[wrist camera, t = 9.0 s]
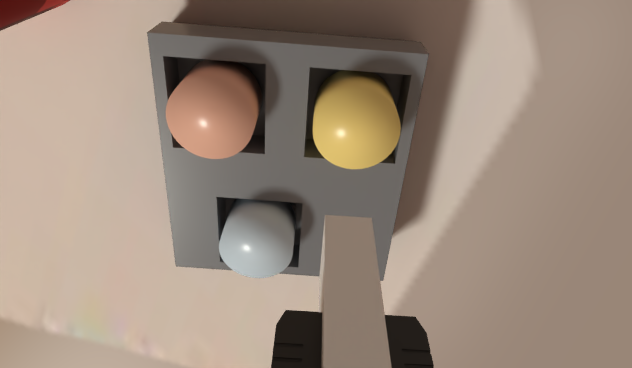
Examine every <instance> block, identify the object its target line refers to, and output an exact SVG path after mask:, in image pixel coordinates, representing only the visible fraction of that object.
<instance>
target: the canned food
mask: <svg viewBox="0 0 632 368" xmlns="http://www.w3.org/2000/svg"><path fill="white" fill-rule="evenodd" d="M68 1H70V0H0V31H1V30H3V29H5V28H8V27H10V26H13V25H15V24H18V23H20V22H22V21H25V20H27V19H30V18H32V17H34V16H37V15H39V14H42V13H44V12H46V11H49V10H51V9H54V8H56V7H58V6H61V5H63V4H65V3H66V2H68Z"/></svg>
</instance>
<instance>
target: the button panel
mask: <svg viewBox="0 0 632 368" xmlns="http://www.w3.org/2000/svg"><path fill="white" fill-rule="evenodd" d="M147 34H148V43H149V51H150V59H151V67H152V75H153V83H154V92H155V100H156V108H157V116H158V124H159V132H160V141H161V149H162V157H163V165H164V173H165V181H166V190H167V198H168V206H169V214H170V222H171V231H172V239H173V247H174V255H175V263H176V266H179V267H193V268H208V269H222V270H232V269H231V268H229V267H228V266H227V265H226V264H225V262H224V261H223V259H222V257H221V255H220V252H219V242H220V238H221V235H222V232H223V229H224V226H225V223H226V220H227V216H228V213H229V210H230V208H231V205H232V204H233V202H234V201H235V200H236V199H237V198H240V199H253V200H267V201H281V202H289V203H290V204H291V206H292V207H293V209H294V211H295V215H296V227H295V237H294V246H293V255H292V259H291V262H290V264H289V265H288V266H287V267H286V268H285V269H284V270H283V271H282V272H280V273H279V274H294V275H308V276H320V265H321V254H322V242H323V231H324V220H325V215H335V216H351V217H366V218H372V223H373V231H374V239H375V246H376V254H377V261H378V269H379V276H380V281H383V279H384V274H385V269H386V264H387V259H388V254H389V249H390V244H391V239H392V234H393V229H394V224H395V219H396V215H397V210H398V205H399V200H400V195H401V190H402V185H403V180H404V175H405V170H406V165H407V160H408V155H409V150H410V145H411V140H412V135H413V130H414V125H415V120H416V115H417V110H418V105H419V100H420V95H421V90H422V85H423V80H424V75H425V70H426V65H427V60H428V55H429V54H428V52H427V51H426V49H425V48H424V46H423V44H422V43H421V42H416V41H404V40H391V39H378V38H365V37H352V36H339V35H327V34H314V33H301V32H288V31H275V30H263V29H250V28H237V27H224V26H211V25H198V24H186V23H173V22H161V23H159V24H158V25H157V26H155V27H154V28H153V29H151V30H150V31H149V32H147ZM206 59H208V60H221V61H234V62H238V63H240V64H242V65H243V66H244V67H246V68H247V69H248V70H249V71H250V72H251V73H252V74H253V75H254V77H255V78H256V80H257V82H258V84H259V86H260V89H261V93H262V106H261V110H260V113H259V116H258V119H257V122H256V125H255V128H254V131H253V134H252V137H251V139H250V141H249V143H248V144H247V145H246V147H245V148H244V149H243V150H241V151H240V152H239V153H237V154H235V155H233V156H231V157H228V158H223V159H209V158H204V157H200V156H197V155H195V154H193V153H191V152H189V151H188V150H186V149H185V148H184V147H182V146H181V145H180V144H179V143H178V142H177V141H176V139H175V138H174V137H173V135H172V134H171V132H170V130H169V127H168V124H167V120H166V106H167V102H168V99H169V97H170V95H171V94H172V92H173V91H174V90H175V89H176V87H177V86H178V85H179V84H180V82H181V81H182V80H183V79H184V77H185V76H186V75H187V74H188V72H189V71H190V70H191V69H192V68H193V67H194V66H195V65H196V64H198V63H199V62H201V61H203V60H206ZM341 70H351V71H364V72H373V73H375V74H377V75H378V76H380V77H381V78H382V79H383V80H384V81H385V82H386V84H387V85H388V87H389V89H390V91H391V94H392V97H393V100H394V103H395V106H396V109H397V113H398V116H399V119H400V126H401V130H400V137H399V140H398V143H397V145H396V147H395V148H394V150H393V151H392V153H391V154H390V155H389V156H388V157H387V158H386V159H384V160H383V161H381V162H380V163H378V164H376V165H374V166H371V167H368V168H364V169H346V168H342V167H339V166H336V165H334V164H333V163H331V162H329V161H328V160H327V159H325V158H324V157H323V156H322V154H321V153H320V152H319V150H318V149H317V147H316V145H315V142H314V139H313V117H314V103H315V98H316V94H317V92H318V90H319V88H320V86H321V85H322V84H323V82H324V81H325V80H326V79H327V78H329V77H330V76H331V75H333V74H335V73H336V72H339V71H341Z"/></svg>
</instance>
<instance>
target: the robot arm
mask: <svg viewBox="0 0 632 368" xmlns="http://www.w3.org/2000/svg"><path fill="white" fill-rule="evenodd" d="M271 368H433V361H432V356H431V354H430V347H429V343H428V338H427V333H426V332H425V330H424V329H423V327H422V326H421V325H420V323H419V321H418V320H417V319H416V317H408V316H392V315H385V314H384V307H383V299H382V292H381V284H380V276H379V269H378V261H377V254H376V246H375V239H374V231H373V223H372V218H366V217H351V216H335V215H325V220H324V231H323V242H322V254H321V265H320V276H319V312H308V311H292V310H286V311H285V312H284V314H283V315H282V317H281V318H280V320H279V322H278V323H277V325H276V332H275V340H274V348H273V357H272V365H271Z"/></svg>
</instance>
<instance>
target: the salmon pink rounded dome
mask: <svg viewBox="0 0 632 368" xmlns="http://www.w3.org/2000/svg"><path fill="white" fill-rule="evenodd" d="M261 106H262V93H261V89H260V86H259V84H258V82H257V80H256V78H255V77H254V75H253V74H252V73H251V72H250V71H249V70H248V69H247V68H246V67H244V66H243V65H242V64H240V63H238V62H234V61H221V60H208V59H206V60H203V61H201V62H199V63H198V64H196V65H195V66H194V67H193V68H192V69H191V70H190V71H189V72H188V74H187V75H186V76H185V77H184V79H183V80H182V81H181V82H180V84H179V85H178V86H177V87H176V89H175V90H174V91H173V92H172V94H171V95H170V97H169V99H168V102H167V106H166V120H167V124H168V127H169V130H170V132H171V134H172V135H173V137H174V138H175V139H176V141H177V142H178V143H179V144H180V145H181V146H182V147H184V148H185V149H186V150H188V151H189V152H191V153H193V154H195V155H197V156H200V157H204V158H209V159H223V158H228V157H231V156H233V155H235V154H237V153H239V152H240V151H241V150H243V149H244V148H245V147H246V145H247V144H248V143H249V141H250V139H251V137H252V134H253V131H254V128H255V125H256V122H257V119H258V116H259V113H260V110H261Z"/></svg>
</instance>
